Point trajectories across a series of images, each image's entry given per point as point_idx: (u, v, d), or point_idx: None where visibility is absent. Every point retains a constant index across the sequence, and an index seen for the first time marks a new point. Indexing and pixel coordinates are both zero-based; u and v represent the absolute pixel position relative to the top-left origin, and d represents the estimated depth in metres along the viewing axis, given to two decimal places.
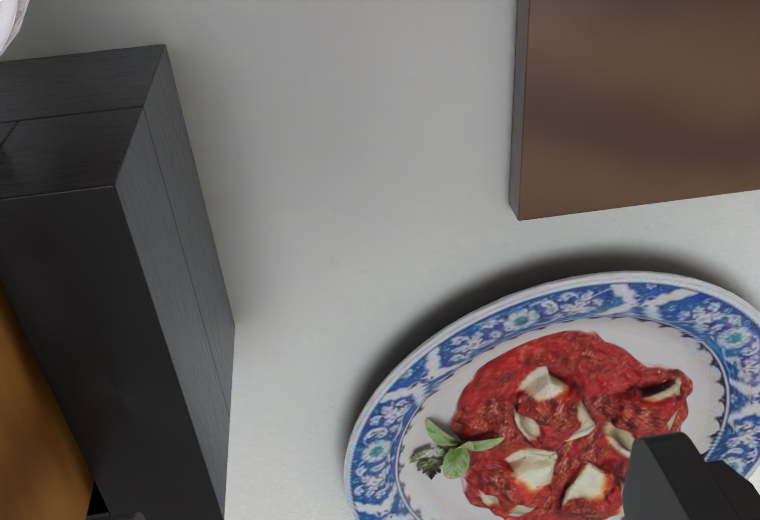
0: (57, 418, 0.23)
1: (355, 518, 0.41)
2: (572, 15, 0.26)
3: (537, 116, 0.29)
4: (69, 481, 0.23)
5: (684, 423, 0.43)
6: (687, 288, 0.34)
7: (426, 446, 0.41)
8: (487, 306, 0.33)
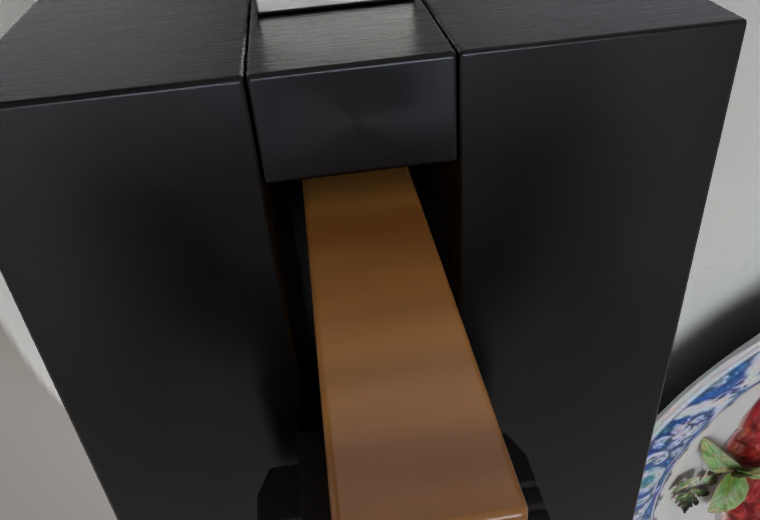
0: None
1: None
2: None
3: None
4: None
5: None
6: None
7: (689, 472, 0.32)
8: None
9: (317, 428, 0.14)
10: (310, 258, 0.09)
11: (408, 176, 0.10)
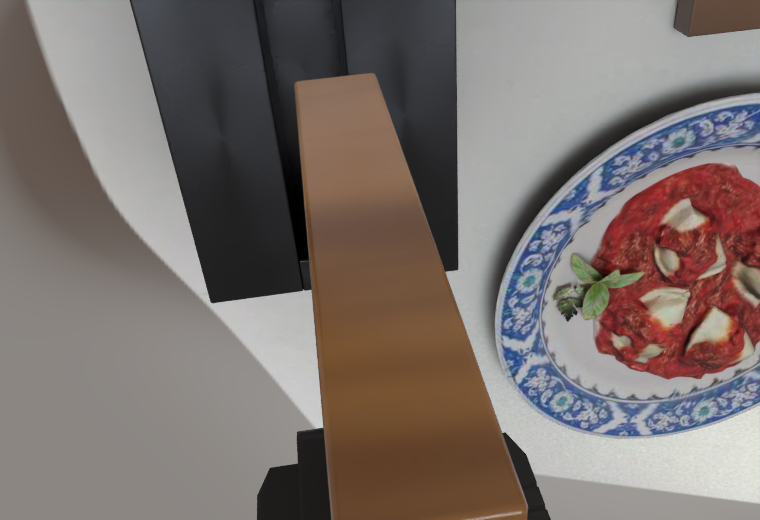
0: None
1: (500, 354, 0.44)
2: None
3: None
4: None
5: None
6: None
7: (567, 286, 0.44)
8: (651, 124, 0.36)
9: (280, 138, 0.26)
10: (310, 256, 0.09)
11: (408, 175, 0.10)
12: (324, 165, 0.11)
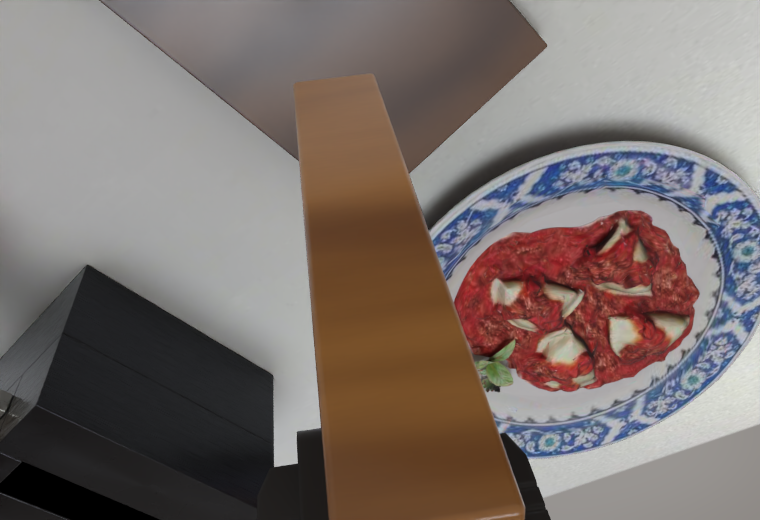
0: None
1: None
2: (261, 90, 0.35)
3: None
4: None
5: (674, 241, 0.45)
6: (534, 170, 0.38)
7: None
8: None
9: (117, 509, 0.39)
10: (308, 258, 0.09)
11: (407, 175, 0.10)
12: (323, 166, 0.11)
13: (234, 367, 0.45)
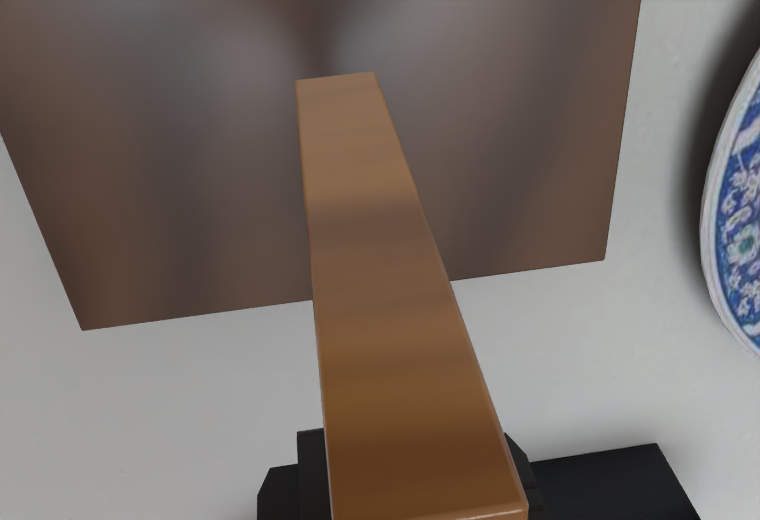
0: None
1: None
2: None
3: (480, 265, 0.27)
4: None
5: None
6: None
7: None
8: (707, 285, 0.28)
9: None
10: (310, 254, 0.09)
11: (408, 173, 0.10)
12: (324, 164, 0.11)
13: (607, 474, 0.36)
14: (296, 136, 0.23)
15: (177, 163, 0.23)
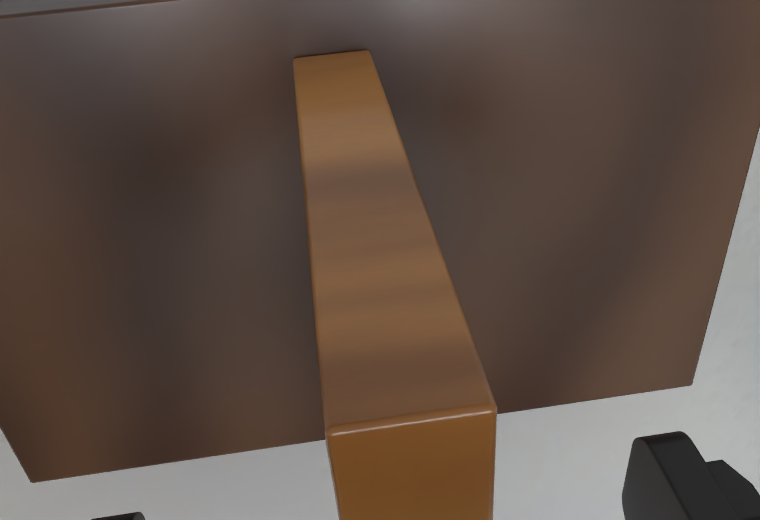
0: None
1: None
2: None
3: (538, 395, 0.21)
4: None
5: None
6: None
7: None
8: None
9: None
10: (306, 208, 0.10)
11: (398, 138, 0.11)
12: (319, 131, 0.11)
13: None
14: (306, 254, 0.17)
15: (148, 290, 0.17)
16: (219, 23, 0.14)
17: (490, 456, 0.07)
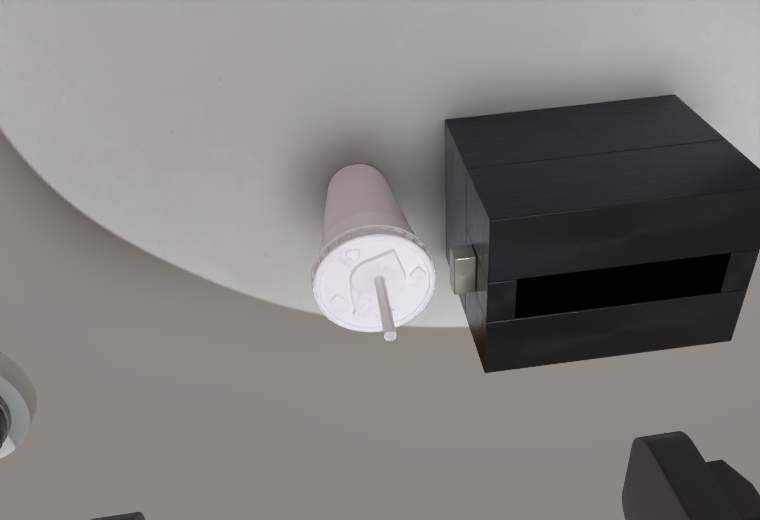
0: None
1: None
2: None
3: None
4: None
5: None
6: None
7: None
8: None
9: (626, 283, 0.38)
10: None
11: None
12: None
13: (632, 109, 0.41)
14: None
15: None
16: None
17: None
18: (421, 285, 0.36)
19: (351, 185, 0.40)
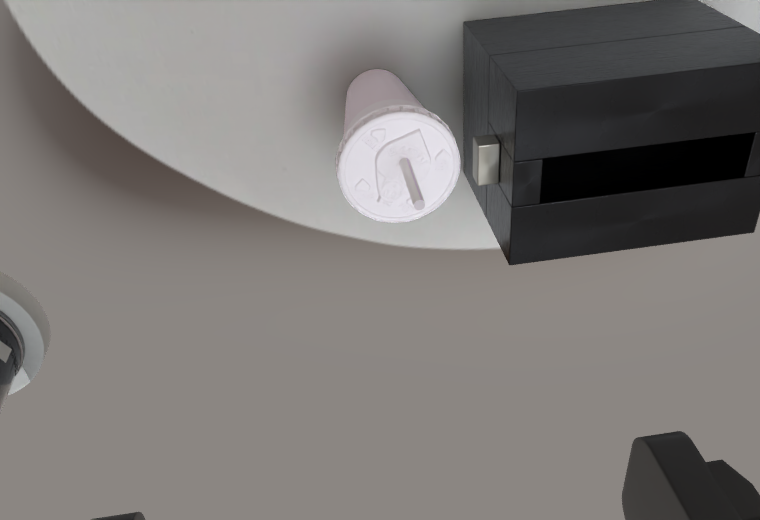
0: None
1: None
2: None
3: None
4: None
5: None
6: None
7: None
8: None
9: (649, 172, 0.38)
10: None
11: None
12: None
13: (649, 8, 0.41)
14: None
15: None
16: None
17: None
18: (446, 171, 0.36)
19: (371, 83, 0.40)
